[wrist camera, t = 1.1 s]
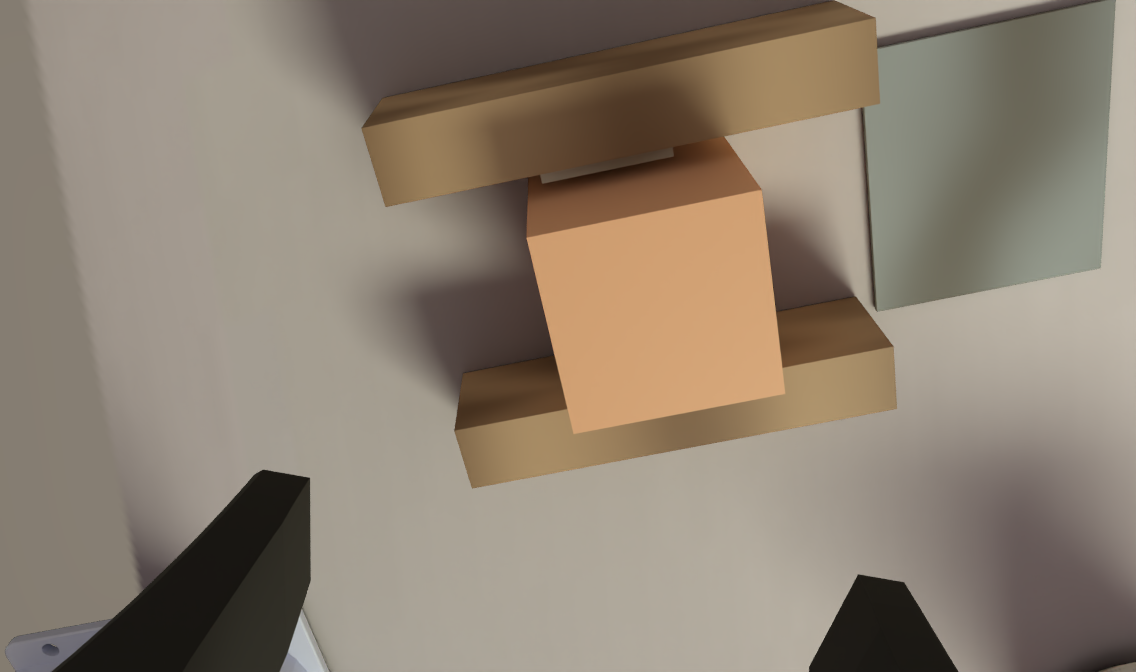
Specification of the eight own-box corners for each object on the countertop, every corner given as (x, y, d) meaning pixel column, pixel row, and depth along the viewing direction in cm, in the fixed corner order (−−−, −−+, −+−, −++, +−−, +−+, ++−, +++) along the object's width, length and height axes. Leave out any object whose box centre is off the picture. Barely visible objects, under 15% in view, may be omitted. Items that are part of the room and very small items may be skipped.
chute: (478, 426, 27) (472, 488, 24) (382, 97, 23) (361, 128, 20) (1095, 308, 26) (1159, 359, 23) (1114, -61, 22) (1197, -52, 19)
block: (567, 338, 25) (573, 434, 21) (528, 170, 23) (526, 237, 19) (742, 304, 25) (785, 393, 21) (719, 130, 23) (761, 189, 19)
